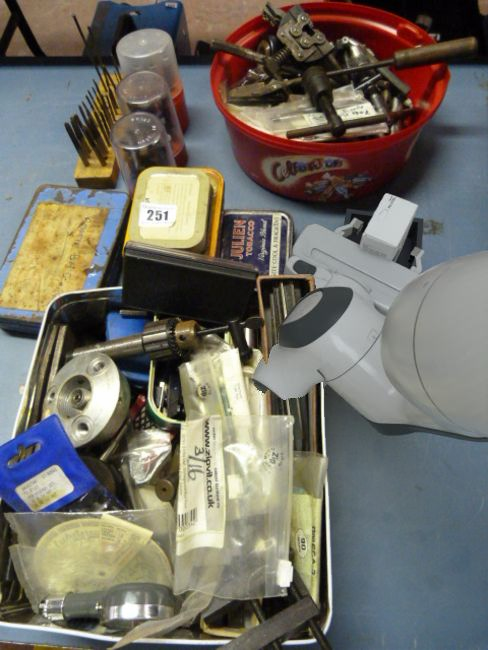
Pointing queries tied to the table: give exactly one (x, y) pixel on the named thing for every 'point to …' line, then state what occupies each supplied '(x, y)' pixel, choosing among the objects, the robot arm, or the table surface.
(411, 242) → the tub
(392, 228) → the ink box
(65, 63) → the table surface
